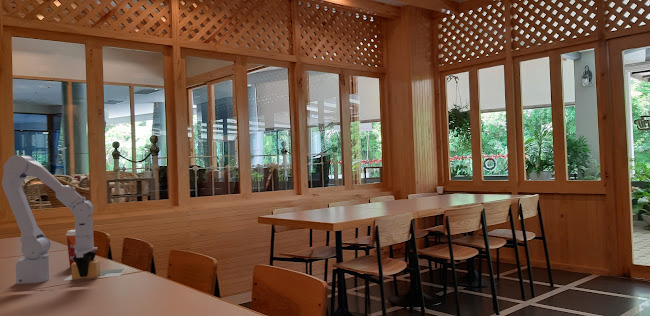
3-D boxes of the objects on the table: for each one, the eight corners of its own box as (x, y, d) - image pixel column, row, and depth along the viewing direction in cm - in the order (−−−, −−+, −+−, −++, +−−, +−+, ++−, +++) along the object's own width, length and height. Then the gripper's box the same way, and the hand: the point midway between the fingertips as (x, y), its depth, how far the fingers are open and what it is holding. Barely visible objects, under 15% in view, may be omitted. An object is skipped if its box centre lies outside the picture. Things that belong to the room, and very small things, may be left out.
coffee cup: (70, 272, 190) (69, 232, 191) (64, 269, 197) (63, 230, 197) (93, 268, 196) (92, 229, 196) (87, 265, 202) (86, 228, 202)
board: (63, 283, 173) (63, 280, 173) (73, 275, 185) (73, 272, 185) (119, 278, 177) (119, 275, 177) (125, 271, 188) (125, 268, 188)
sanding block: (71, 279, 174) (71, 264, 174) (75, 275, 179) (75, 261, 179) (96, 277, 176) (96, 262, 176) (100, 273, 181) (99, 259, 181)
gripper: (91, 237, 171) (93, 278, 171) (101, 232, 185) (102, 269, 185) (69, 239, 170) (70, 280, 170) (80, 233, 184) (81, 271, 184)
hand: (85, 274), depth 177 cm, fingers closed on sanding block, 5 cm apart
